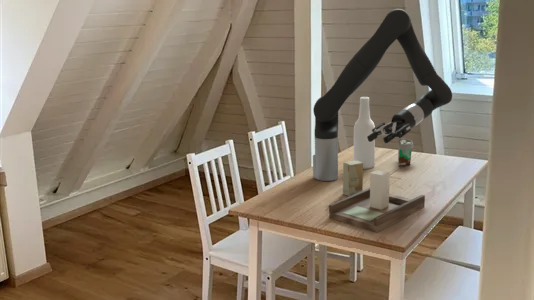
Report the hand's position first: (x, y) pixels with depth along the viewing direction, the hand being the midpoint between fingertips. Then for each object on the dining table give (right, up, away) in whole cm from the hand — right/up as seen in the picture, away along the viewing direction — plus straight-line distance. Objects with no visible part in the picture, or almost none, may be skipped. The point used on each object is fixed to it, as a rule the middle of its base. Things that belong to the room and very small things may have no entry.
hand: (376, 140), depth 195 cm
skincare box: (-6, -20, +14) cm, 25 cm away
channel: (0, -24, -4) cm, 25 cm away
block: (0, -22, -5) cm, 23 cm away
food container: (+22, -10, +49) cm, 55 cm away
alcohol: (+4, -11, +48) cm, 49 cm away
